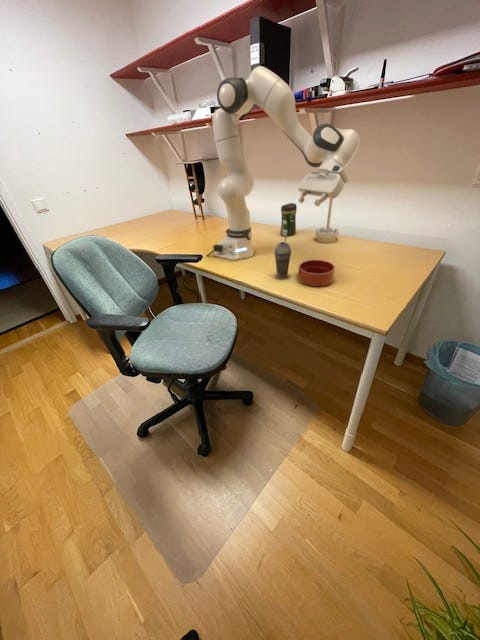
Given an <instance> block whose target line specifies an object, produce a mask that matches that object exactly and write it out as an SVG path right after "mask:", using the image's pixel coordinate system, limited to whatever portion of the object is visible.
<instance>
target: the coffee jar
mask: <svg viewBox="0 0 480 640" xmlns="http://www.w3.org/2000/svg"><path fill="white" fill-rule="evenodd" d="M297 209H298V207H297V204H296V203H295V202H289V203H286V204H282V205H281V206H280V214H281V222H280V223H281V224H280V235H281V236H282V237H285V234H286V232H287V236H286V237H291V236H293V235H295V234H296V233H297V232H296V231H297V227H296V224H297V223H296V217H297Z"/></svg>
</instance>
